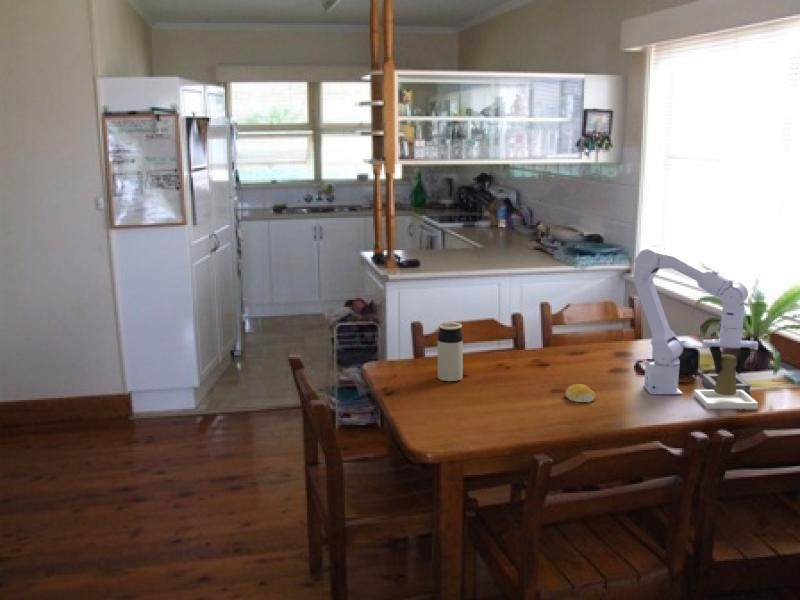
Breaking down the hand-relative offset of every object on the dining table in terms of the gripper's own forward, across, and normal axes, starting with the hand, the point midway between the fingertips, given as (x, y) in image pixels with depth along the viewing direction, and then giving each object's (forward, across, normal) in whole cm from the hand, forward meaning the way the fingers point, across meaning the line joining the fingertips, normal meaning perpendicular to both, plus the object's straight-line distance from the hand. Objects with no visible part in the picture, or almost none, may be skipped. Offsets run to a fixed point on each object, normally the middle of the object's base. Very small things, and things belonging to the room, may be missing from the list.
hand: (727, 372), depth 216 cm
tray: (+9, 0, 0) cm, 9 cm away
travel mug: (+10, +81, -12) cm, 82 cm away
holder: (+9, -3, -14) cm, 17 cm away
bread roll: (+10, +41, +1) cm, 42 cm away
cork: (+6, 0, -1) cm, 7 cm away
